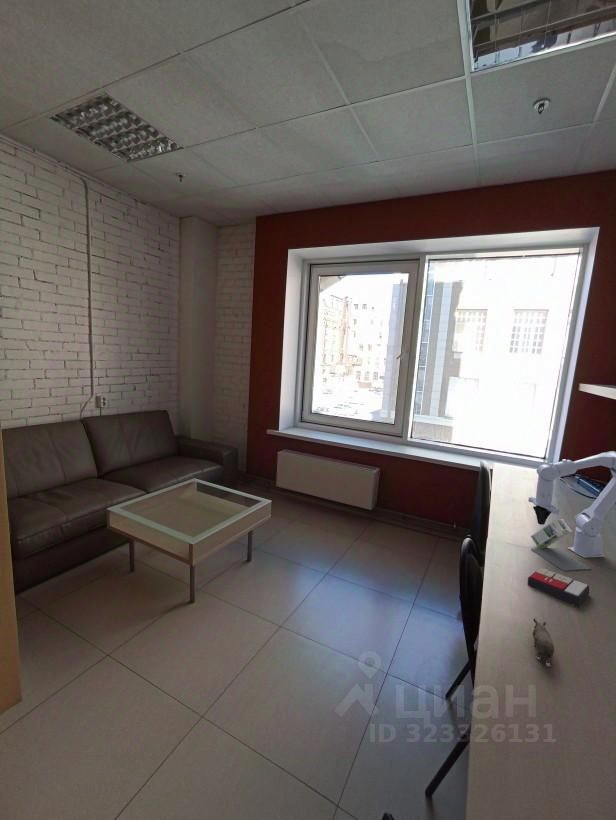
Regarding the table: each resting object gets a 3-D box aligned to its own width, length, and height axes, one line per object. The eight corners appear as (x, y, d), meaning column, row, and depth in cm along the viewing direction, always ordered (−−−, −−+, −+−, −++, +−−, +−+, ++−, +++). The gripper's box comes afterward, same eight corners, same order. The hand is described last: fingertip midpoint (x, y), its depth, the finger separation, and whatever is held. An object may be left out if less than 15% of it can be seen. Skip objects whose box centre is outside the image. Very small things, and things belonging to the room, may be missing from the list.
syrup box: (529, 536, 157) (553, 519, 147) (539, 534, 159) (563, 518, 149) (538, 548, 153) (563, 533, 144) (547, 547, 156) (573, 531, 146)
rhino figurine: (544, 634, 103) (547, 614, 102) (554, 669, 90) (557, 647, 90) (528, 629, 104) (530, 609, 104) (535, 663, 92) (538, 642, 91)
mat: (556, 548, 154) (556, 548, 154) (590, 569, 138) (591, 568, 138) (531, 549, 152) (531, 549, 152) (563, 570, 137) (563, 569, 137)
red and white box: (539, 566, 133) (590, 583, 121) (539, 577, 133) (589, 596, 122) (527, 575, 126) (579, 595, 115) (526, 587, 127) (578, 608, 115)
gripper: (523, 487, 160) (520, 517, 162) (549, 499, 146) (545, 531, 147) (537, 487, 161) (534, 516, 163) (565, 499, 147) (561, 531, 148)
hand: (541, 523), depth 155 cm, fingers closed
